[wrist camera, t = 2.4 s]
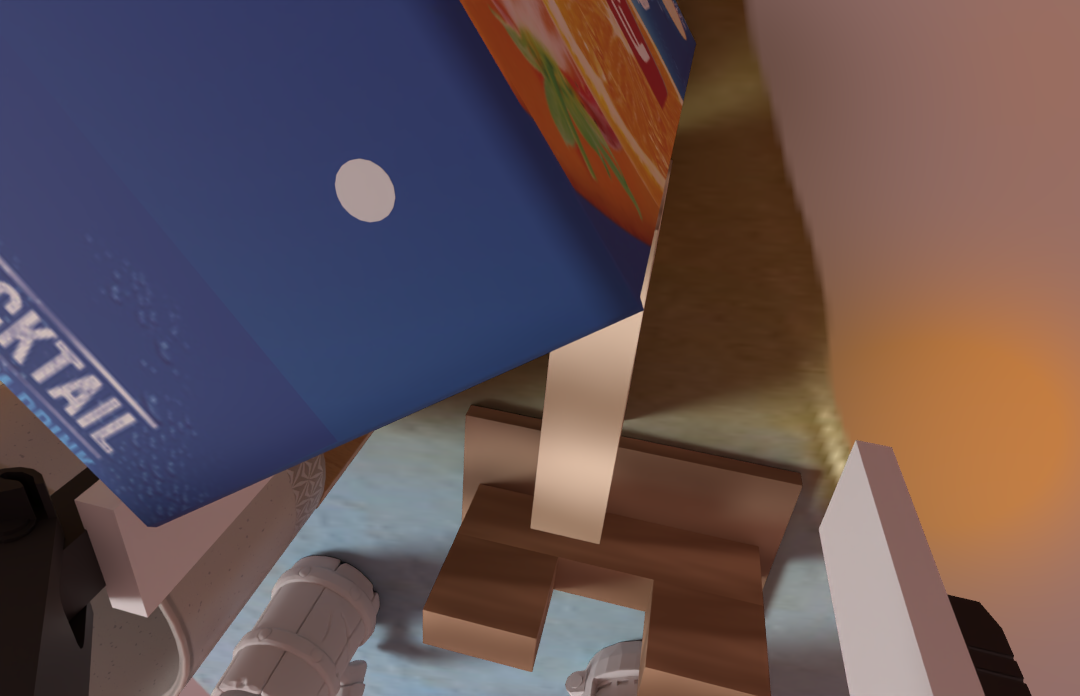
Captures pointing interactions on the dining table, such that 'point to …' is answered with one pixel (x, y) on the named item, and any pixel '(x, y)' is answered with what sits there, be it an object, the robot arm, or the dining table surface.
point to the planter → (211, 584)
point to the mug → (307, 635)
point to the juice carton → (312, 215)
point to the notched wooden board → (586, 422)
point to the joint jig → (618, 559)
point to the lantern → (609, 672)
